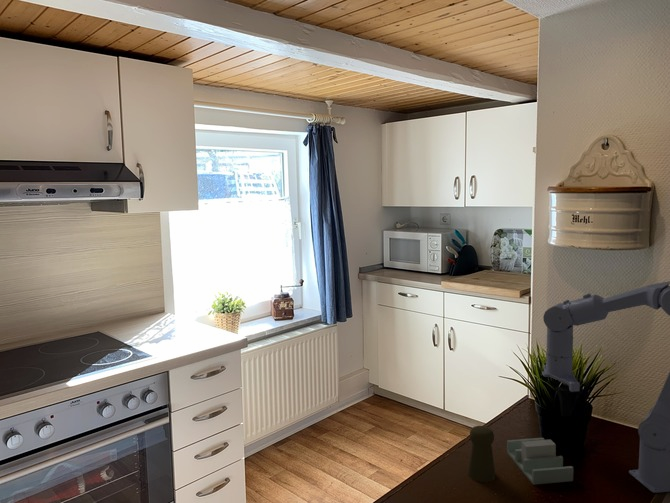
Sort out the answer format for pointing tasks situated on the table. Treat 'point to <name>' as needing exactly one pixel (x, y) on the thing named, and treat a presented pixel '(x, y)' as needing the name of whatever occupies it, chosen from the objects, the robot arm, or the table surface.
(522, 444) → the white rectangular block
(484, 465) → the dark green pepper mill
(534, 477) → the rack
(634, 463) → the table surface
